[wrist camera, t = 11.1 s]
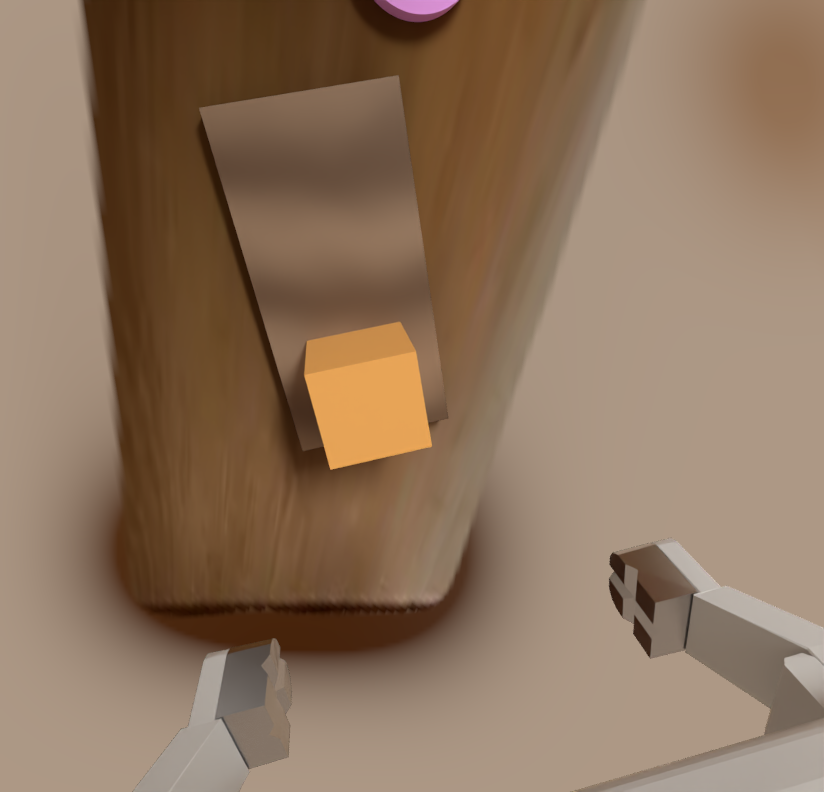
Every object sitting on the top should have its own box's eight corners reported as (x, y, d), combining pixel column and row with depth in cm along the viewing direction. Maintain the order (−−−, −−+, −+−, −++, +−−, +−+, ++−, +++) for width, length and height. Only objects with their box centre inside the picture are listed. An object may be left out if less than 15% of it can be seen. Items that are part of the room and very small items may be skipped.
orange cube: (306, 340, 27) (304, 374, 22) (400, 321, 27) (416, 351, 23) (328, 423, 29) (330, 469, 25) (414, 404, 30) (431, 446, 25)
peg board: (204, 110, 23) (178, 97, 19) (395, 79, 24) (411, 59, 19) (303, 441, 31) (300, 484, 26) (443, 409, 31) (463, 447, 27)
